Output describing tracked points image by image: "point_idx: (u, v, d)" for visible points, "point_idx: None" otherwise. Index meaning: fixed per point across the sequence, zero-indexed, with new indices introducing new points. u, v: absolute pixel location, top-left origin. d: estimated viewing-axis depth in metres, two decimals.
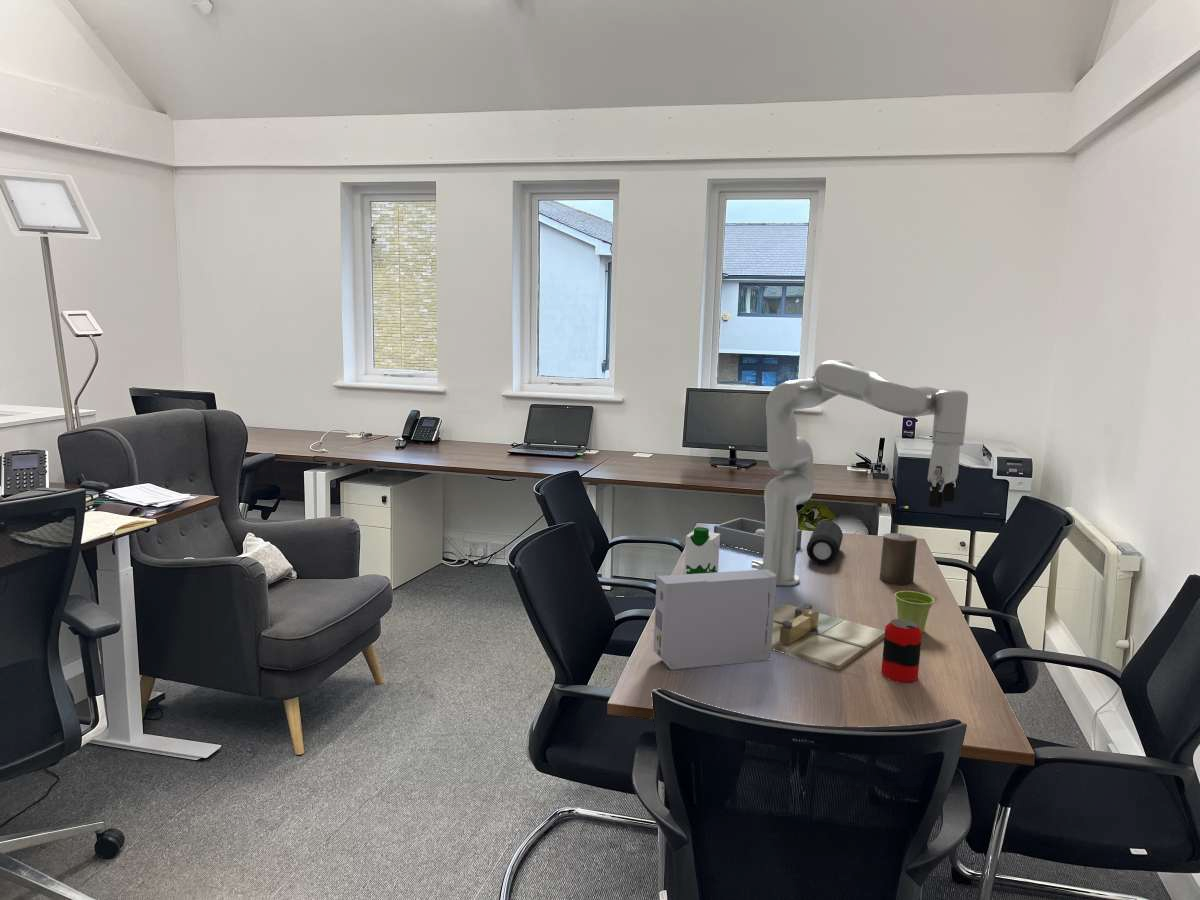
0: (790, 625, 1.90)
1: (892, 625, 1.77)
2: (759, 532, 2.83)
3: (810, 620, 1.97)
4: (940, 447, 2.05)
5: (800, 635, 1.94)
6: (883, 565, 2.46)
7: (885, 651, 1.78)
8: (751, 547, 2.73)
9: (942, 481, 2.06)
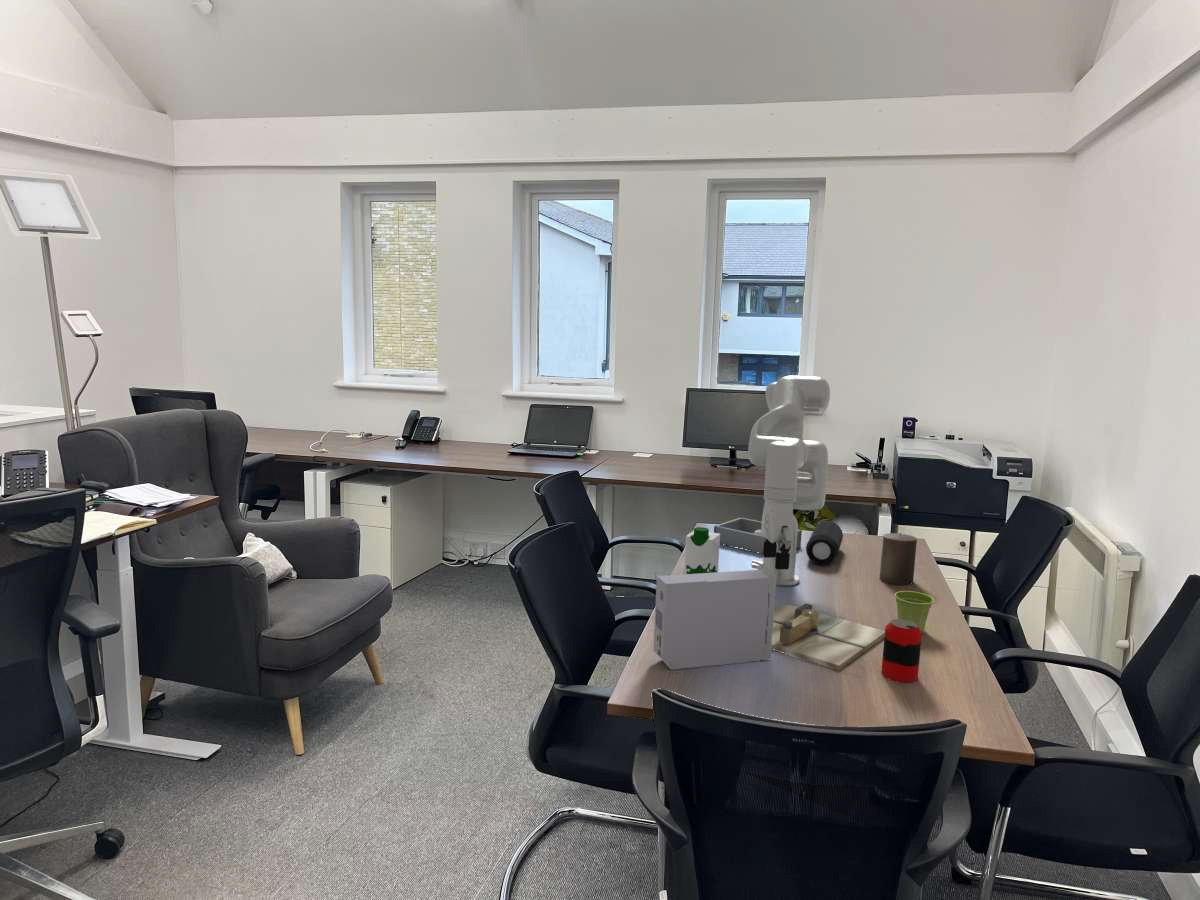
0: (790, 625, 1.90)
1: (892, 625, 1.77)
2: (758, 533, 2.81)
3: (810, 620, 1.97)
4: (784, 505, 1.90)
5: (800, 635, 1.94)
6: (883, 565, 2.46)
7: (885, 651, 1.78)
8: (751, 547, 2.73)
9: None
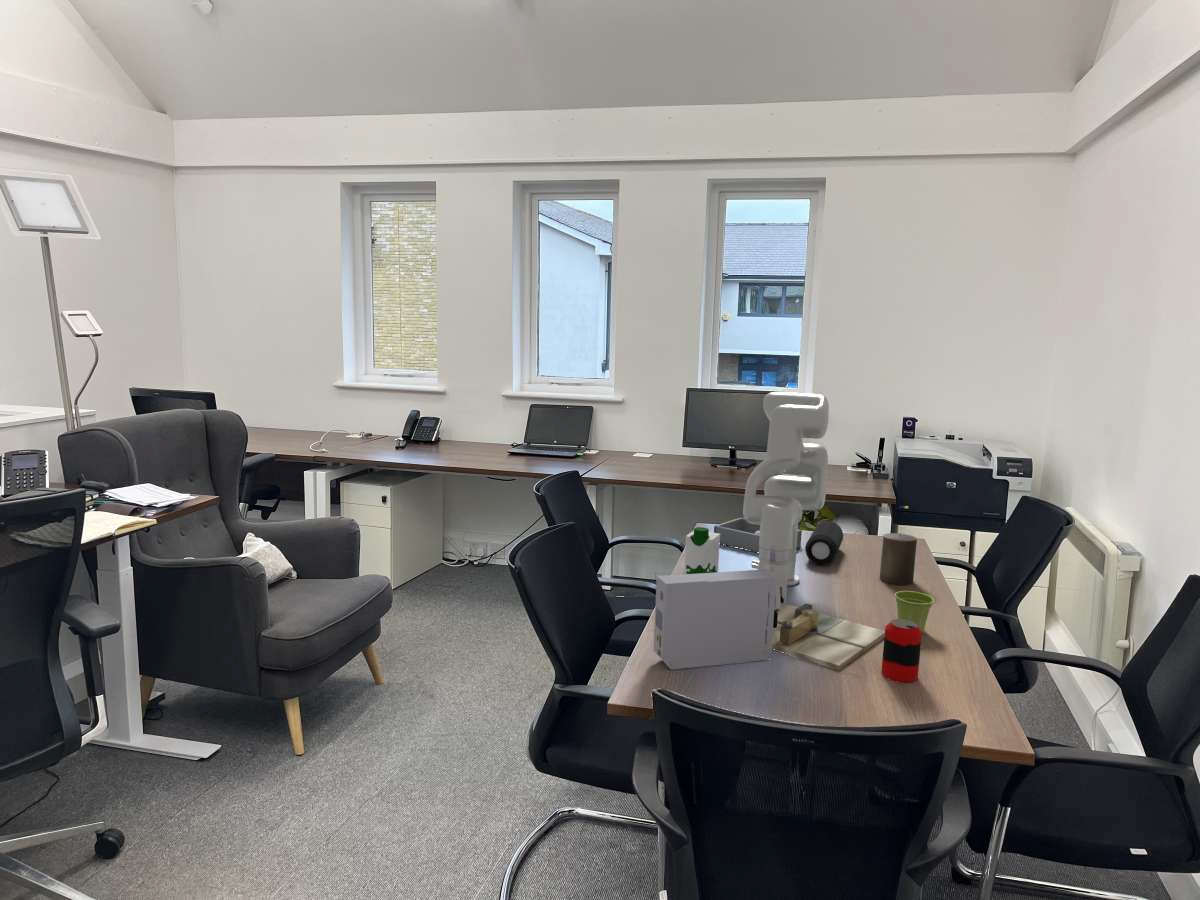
0: (790, 625, 1.90)
1: (892, 625, 1.77)
2: (758, 534, 2.80)
3: (810, 620, 1.97)
4: (778, 567, 1.92)
5: (800, 635, 1.94)
6: (883, 565, 2.46)
7: (885, 651, 1.78)
8: (751, 547, 2.73)
9: None
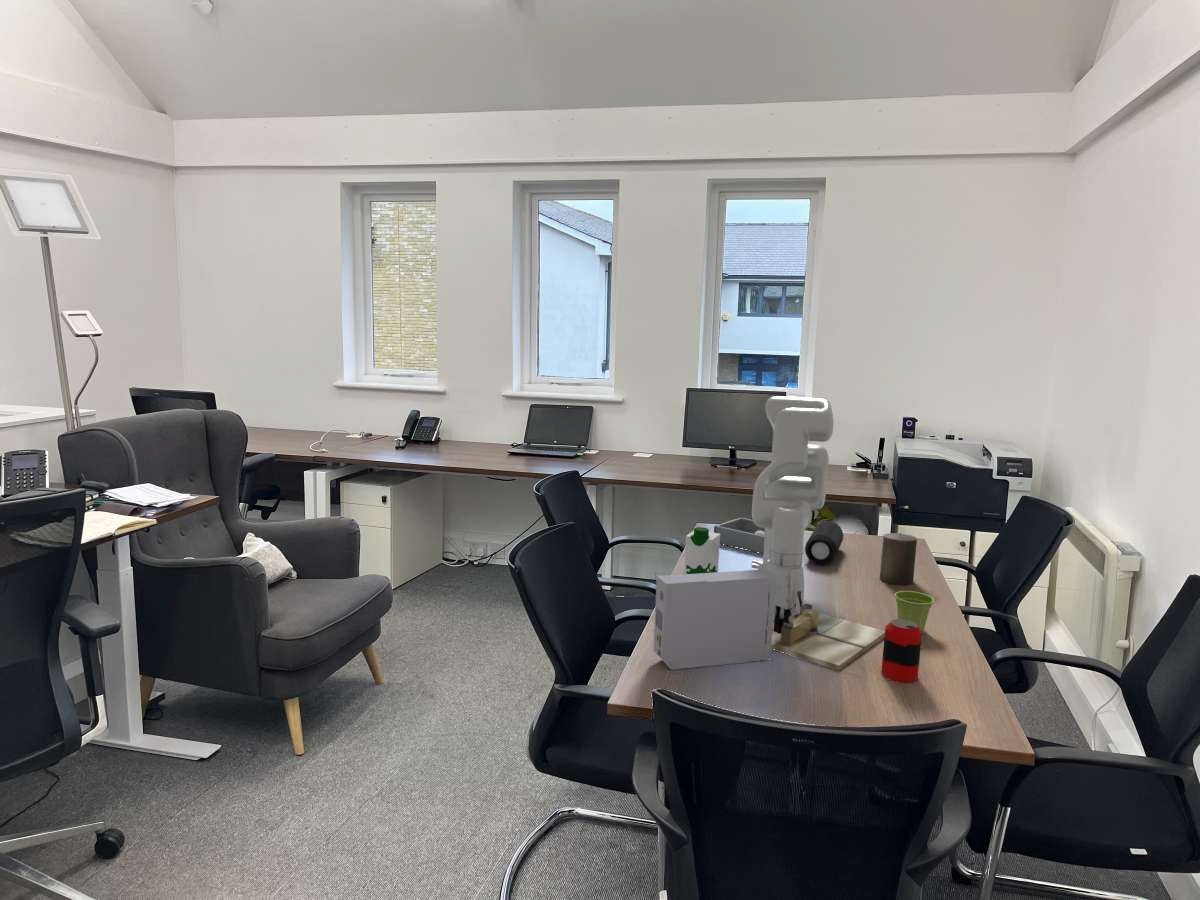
0: (791, 625, 1.90)
1: (892, 625, 1.77)
2: (758, 534, 2.80)
3: (810, 620, 1.97)
4: (798, 571, 1.90)
5: (801, 635, 1.94)
6: (883, 565, 2.46)
7: (885, 651, 1.78)
8: (751, 547, 2.73)
9: None
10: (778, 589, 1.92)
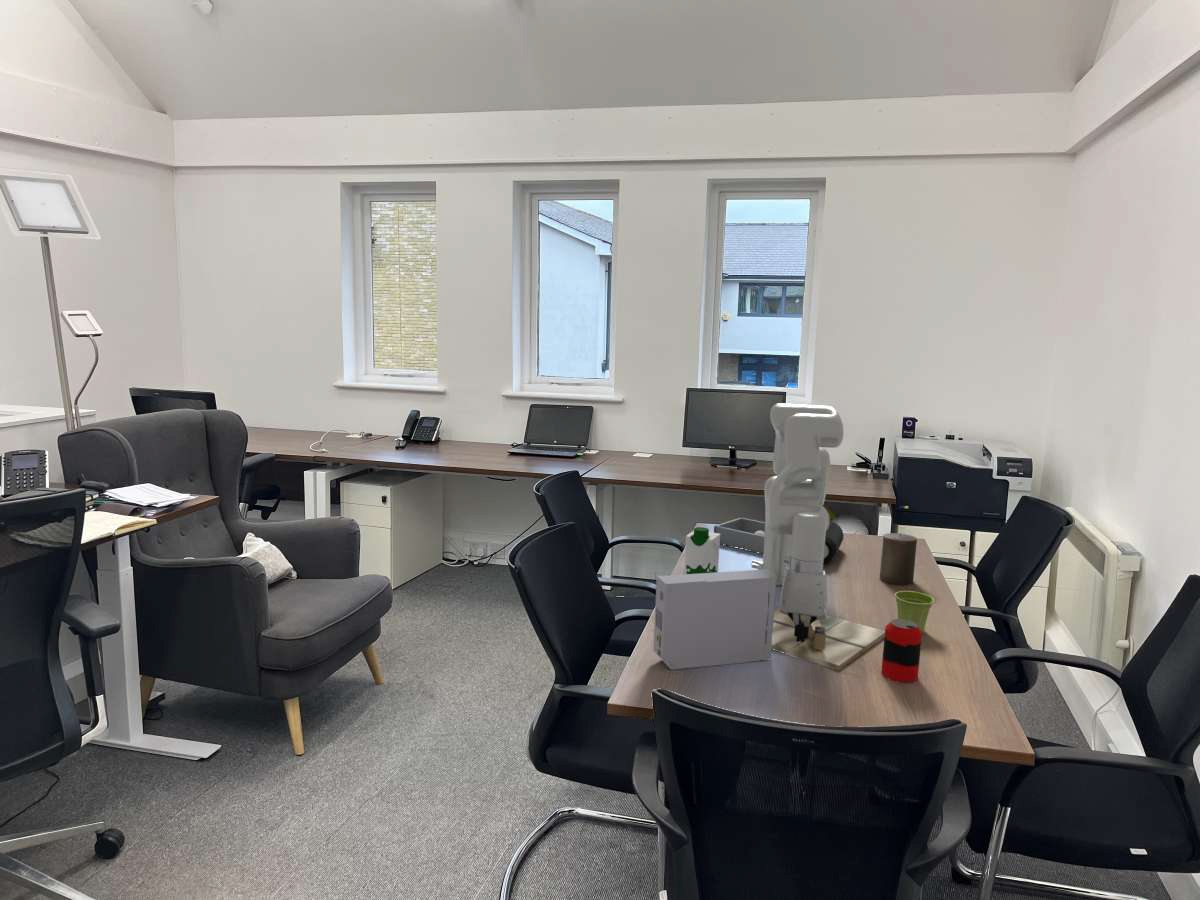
0: (824, 630, 1.87)
1: (892, 625, 1.77)
2: (758, 534, 2.80)
3: None
4: (825, 575, 1.87)
5: None
6: (883, 565, 2.46)
7: (885, 651, 1.78)
8: (751, 547, 2.73)
9: None
10: (807, 598, 1.87)
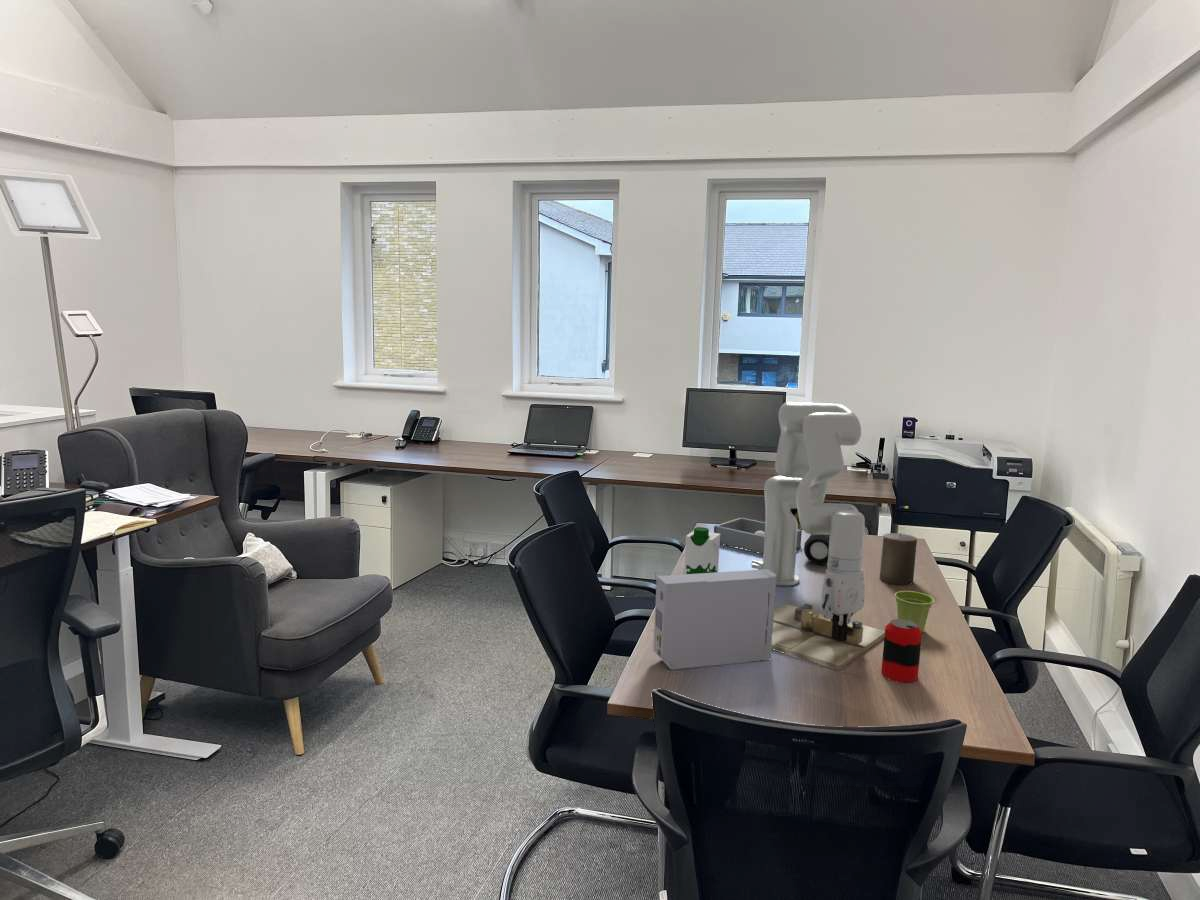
0: None
1: (892, 625, 1.77)
2: (758, 534, 2.80)
3: None
4: None
5: None
6: (883, 565, 2.46)
7: (885, 651, 1.78)
8: (751, 547, 2.73)
9: None
10: (855, 595, 1.88)
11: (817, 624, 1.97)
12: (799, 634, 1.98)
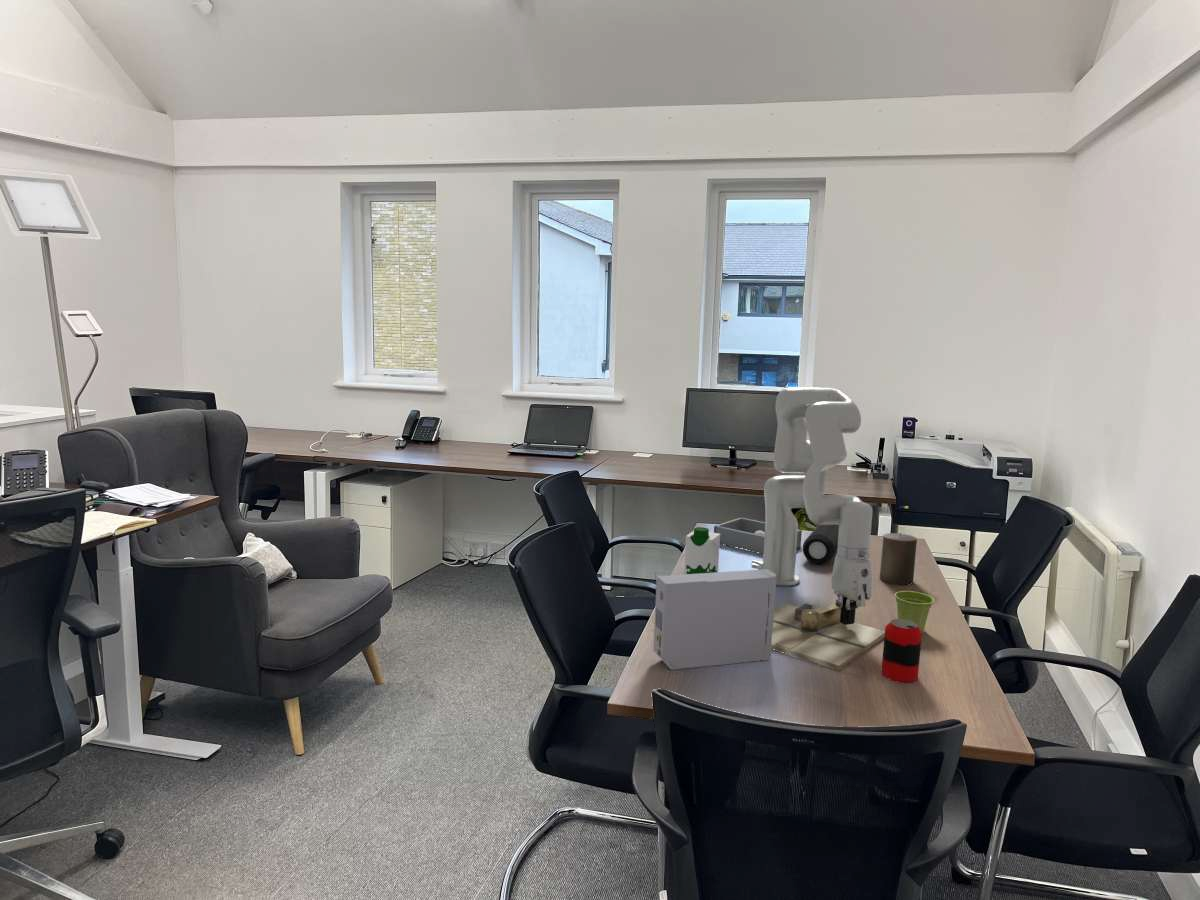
0: None
1: (892, 625, 1.77)
2: (758, 534, 2.80)
3: None
4: None
5: None
6: (883, 565, 2.46)
7: (885, 651, 1.78)
8: (751, 547, 2.73)
9: None
10: None
11: (820, 619, 2.01)
12: (799, 634, 1.98)
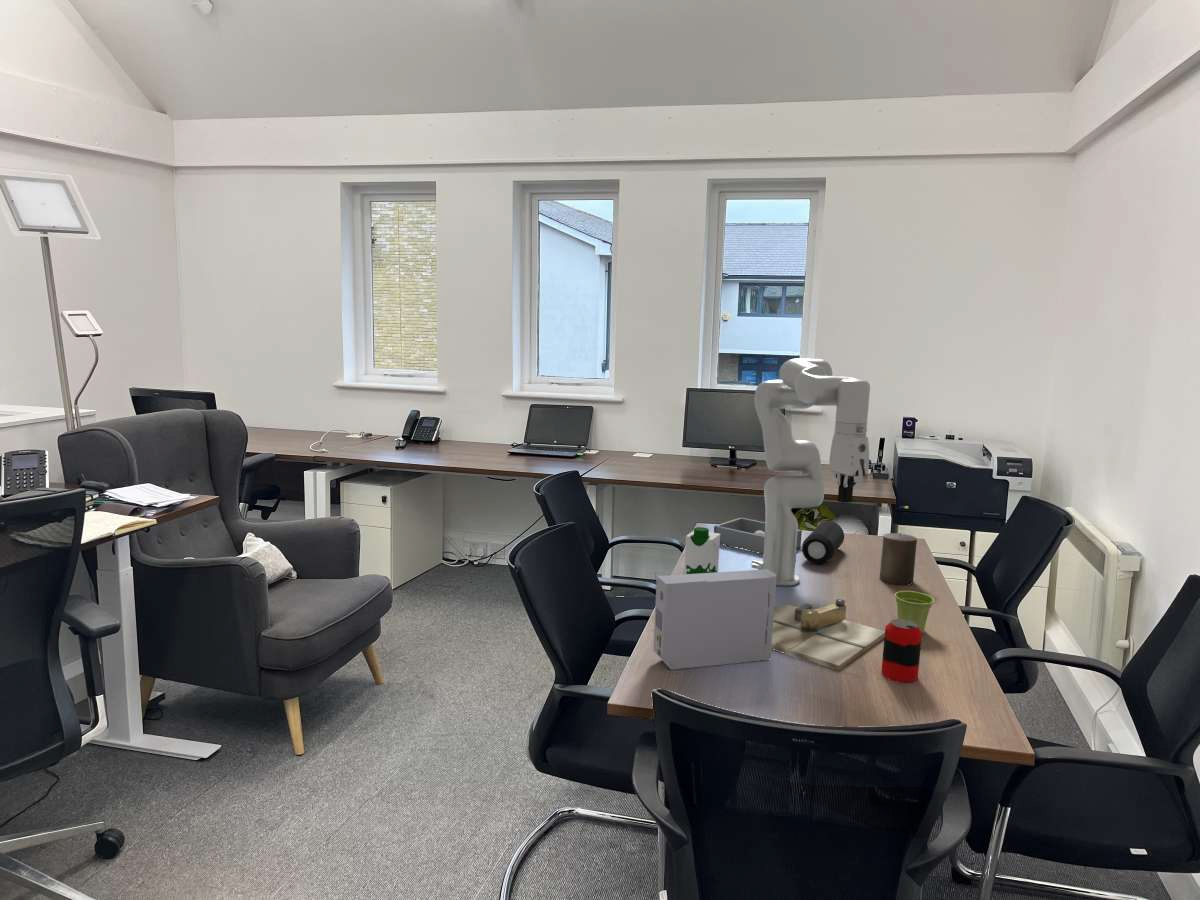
0: None
1: (892, 625, 1.77)
2: (757, 534, 2.80)
3: None
4: None
5: None
6: (883, 565, 2.46)
7: (885, 651, 1.78)
8: (751, 547, 2.73)
9: None
10: None
11: (820, 619, 2.01)
12: (799, 634, 1.98)
